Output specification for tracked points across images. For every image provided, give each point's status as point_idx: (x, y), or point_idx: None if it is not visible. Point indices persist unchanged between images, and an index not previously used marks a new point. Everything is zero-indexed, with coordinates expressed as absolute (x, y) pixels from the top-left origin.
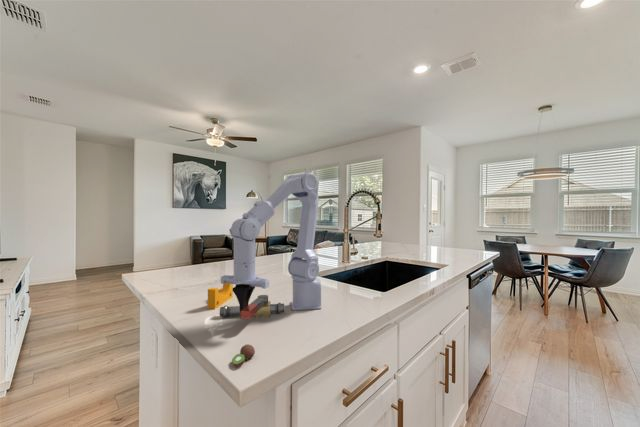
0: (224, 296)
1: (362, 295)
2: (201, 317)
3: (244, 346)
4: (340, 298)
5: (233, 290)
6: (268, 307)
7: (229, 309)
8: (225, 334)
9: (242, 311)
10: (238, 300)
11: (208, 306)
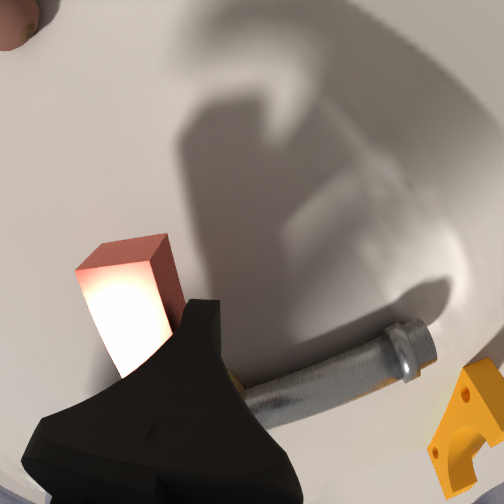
0: (452, 434)
1: None
2: (489, 283)
3: (4, 8)
4: None
5: (257, 458)
6: None
7: (380, 362)
8: (256, 136)
9: (136, 259)
10: (211, 361)
11: (490, 364)
